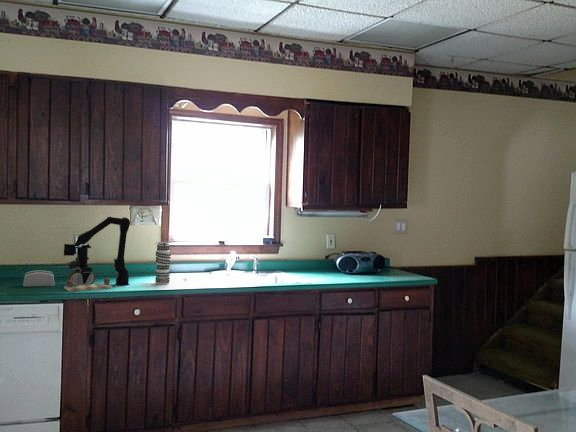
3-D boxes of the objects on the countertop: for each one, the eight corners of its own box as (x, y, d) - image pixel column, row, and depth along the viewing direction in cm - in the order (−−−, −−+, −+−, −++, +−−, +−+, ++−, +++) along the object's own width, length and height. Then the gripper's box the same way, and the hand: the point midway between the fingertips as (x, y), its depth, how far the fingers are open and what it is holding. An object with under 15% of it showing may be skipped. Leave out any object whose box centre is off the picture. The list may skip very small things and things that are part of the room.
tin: (93, 284, 367) (94, 270, 366) (95, 285, 364) (95, 270, 364) (67, 286, 358) (68, 271, 357) (69, 286, 355) (69, 272, 355)
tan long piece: (106, 286, 362) (107, 276, 362) (112, 288, 354) (112, 279, 354) (64, 288, 348) (64, 279, 348) (68, 291, 341) (68, 281, 340)
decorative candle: (153, 282, 380) (154, 241, 379) (168, 282, 384) (169, 241, 383) (155, 284, 372) (156, 243, 371) (171, 284, 375) (172, 243, 374)
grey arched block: (54, 284, 362) (54, 268, 358) (54, 288, 358) (55, 272, 354) (23, 284, 356) (23, 269, 352) (22, 289, 351) (23, 273, 348)
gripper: (63, 254, 363) (63, 281, 364) (72, 258, 348) (72, 285, 349) (82, 253, 370) (82, 279, 370) (92, 257, 354) (92, 284, 355)
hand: (81, 282), depth 361 cm, fingers open, 9 cm apart
